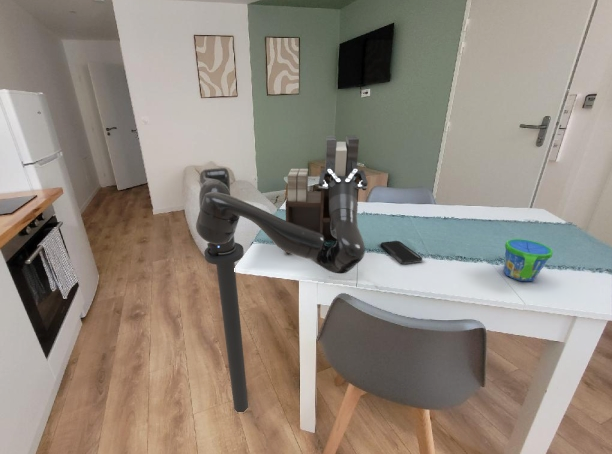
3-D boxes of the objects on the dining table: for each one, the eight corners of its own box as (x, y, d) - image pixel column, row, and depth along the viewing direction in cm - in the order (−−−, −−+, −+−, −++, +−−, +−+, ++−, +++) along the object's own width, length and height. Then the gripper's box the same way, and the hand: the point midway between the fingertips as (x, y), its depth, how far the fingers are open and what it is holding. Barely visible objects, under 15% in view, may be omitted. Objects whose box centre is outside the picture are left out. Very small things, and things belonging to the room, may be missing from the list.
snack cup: (541, 294, 81) (554, 262, 77) (494, 281, 87) (504, 251, 83) (541, 270, 91) (552, 241, 87) (499, 260, 98) (508, 233, 94)
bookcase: (352, 257, 104) (363, 139, 88) (286, 254, 108) (284, 141, 92) (349, 241, 116) (358, 134, 101) (290, 238, 121) (289, 136, 105)
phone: (398, 240, 112) (423, 259, 98) (398, 243, 113) (423, 261, 99) (379, 242, 111) (402, 261, 98) (379, 245, 112) (401, 264, 98)
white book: (344, 181, 86) (346, 150, 82) (334, 181, 86) (336, 150, 83) (344, 167, 104) (345, 141, 100) (335, 167, 104) (336, 141, 101)
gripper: (316, 212, 84) (317, 172, 94) (368, 213, 81) (364, 172, 91) (316, 194, 78) (318, 153, 88) (372, 194, 75) (368, 153, 85)
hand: (341, 163), depth 89 cm, fingers open, 6 cm apart
